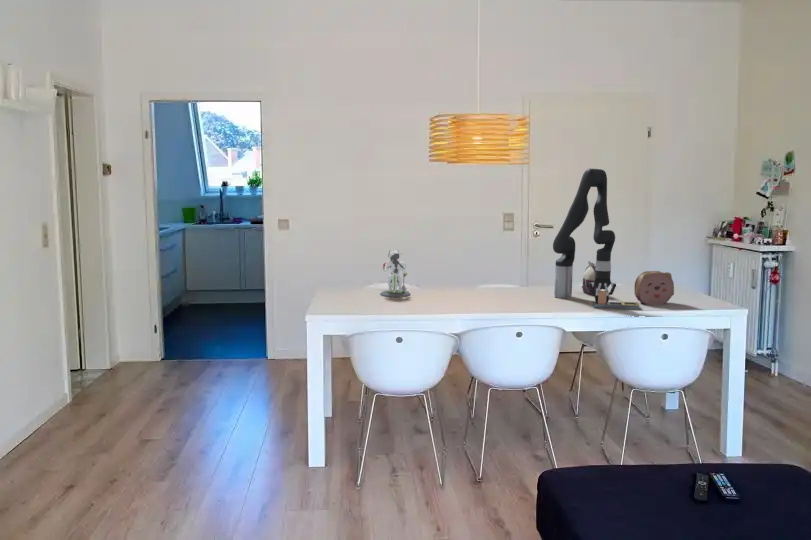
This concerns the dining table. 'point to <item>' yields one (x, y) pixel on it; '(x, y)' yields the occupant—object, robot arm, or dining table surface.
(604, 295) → the block
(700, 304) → the dining table surface
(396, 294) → the figurine
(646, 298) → the face sculpture
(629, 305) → the rail
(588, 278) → the pouch
